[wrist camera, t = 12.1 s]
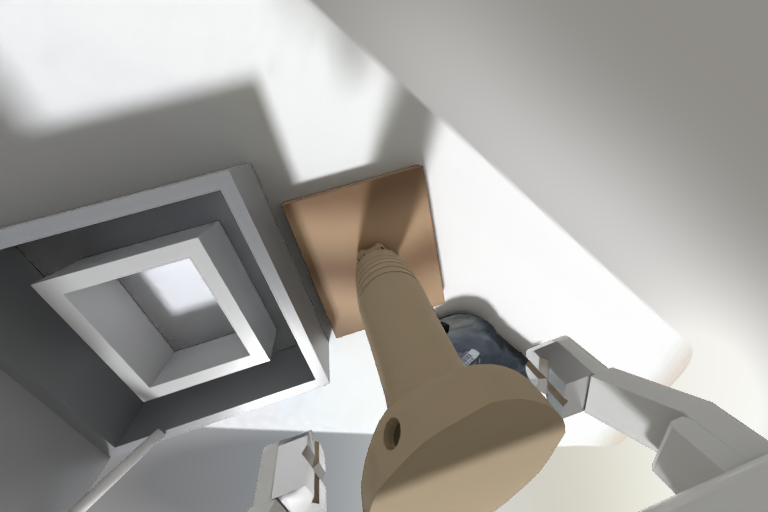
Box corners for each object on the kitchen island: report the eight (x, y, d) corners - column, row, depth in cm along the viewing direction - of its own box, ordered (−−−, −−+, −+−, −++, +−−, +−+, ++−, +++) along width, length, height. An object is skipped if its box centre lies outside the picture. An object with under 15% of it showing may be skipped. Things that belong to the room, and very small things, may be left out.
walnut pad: (283, 202, 19) (281, 205, 18) (418, 164, 20) (422, 166, 19) (335, 330, 24) (336, 338, 23) (440, 296, 25) (444, 302, 24)
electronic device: (527, 341, 33) (454, 294, 25) (561, 385, 28) (485, 344, 20) (469, 383, 35) (387, 353, 28) (492, 429, 31) (402, 408, 23)
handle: (422, 243, 21) (593, 426, 8) (376, 304, 23) (453, 548, 9) (373, 210, 19) (485, 376, 6) (326, 279, 21) (330, 538, 7)
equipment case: (-34, 237, 16) (-970, 501, 4) (250, 162, 18) (105, 213, 6) (135, 406, 23) (-57, 680, 11) (328, 342, 24) (333, 529, 13)
